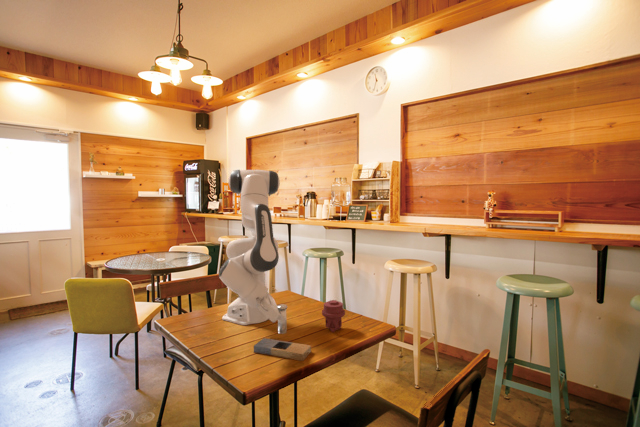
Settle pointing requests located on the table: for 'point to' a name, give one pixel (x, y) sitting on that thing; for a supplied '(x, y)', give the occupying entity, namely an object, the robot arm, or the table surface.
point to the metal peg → (281, 326)
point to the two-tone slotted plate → (291, 351)
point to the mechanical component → (333, 314)
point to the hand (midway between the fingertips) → (283, 318)
